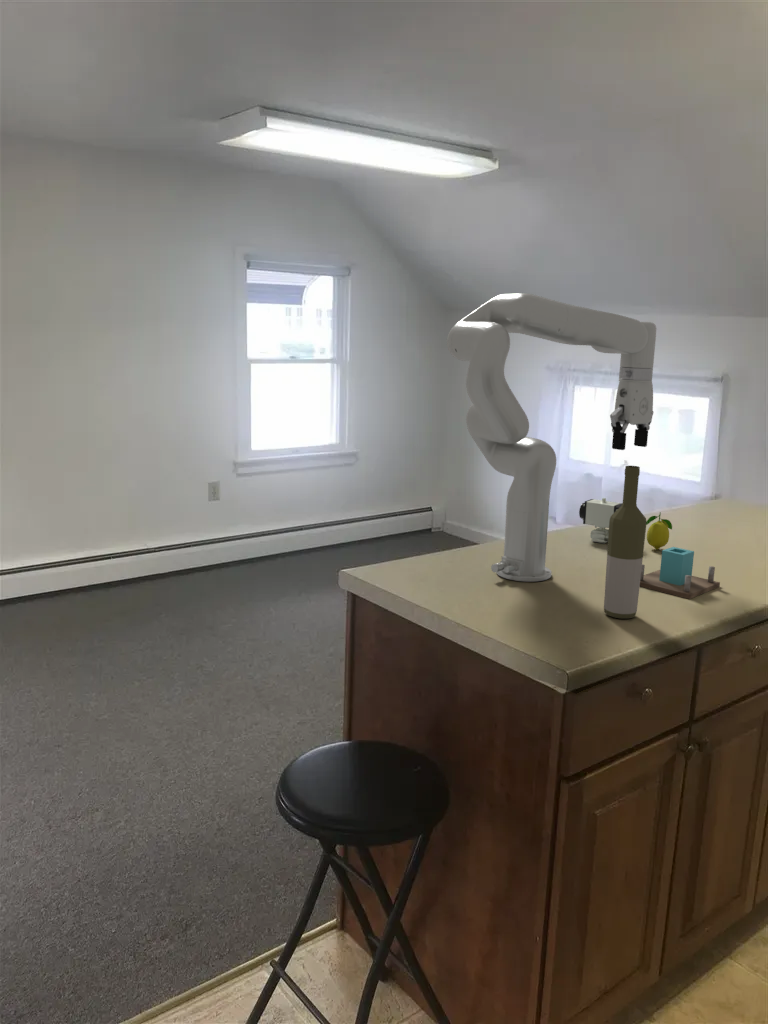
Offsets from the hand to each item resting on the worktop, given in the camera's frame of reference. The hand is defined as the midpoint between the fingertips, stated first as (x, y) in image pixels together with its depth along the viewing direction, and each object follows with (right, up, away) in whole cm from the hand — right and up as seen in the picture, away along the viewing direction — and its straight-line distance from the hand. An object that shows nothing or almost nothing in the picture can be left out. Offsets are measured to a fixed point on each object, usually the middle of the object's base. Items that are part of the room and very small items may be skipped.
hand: (629, 447), depth 201 cm
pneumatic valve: (0, -24, +26) cm, 35 cm away
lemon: (+12, -25, +18) cm, 34 cm away
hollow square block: (+6, -31, -13) cm, 34 cm away
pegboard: (+7, -32, -13) cm, 35 cm away
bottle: (-12, -36, -34) cm, 51 cm away
